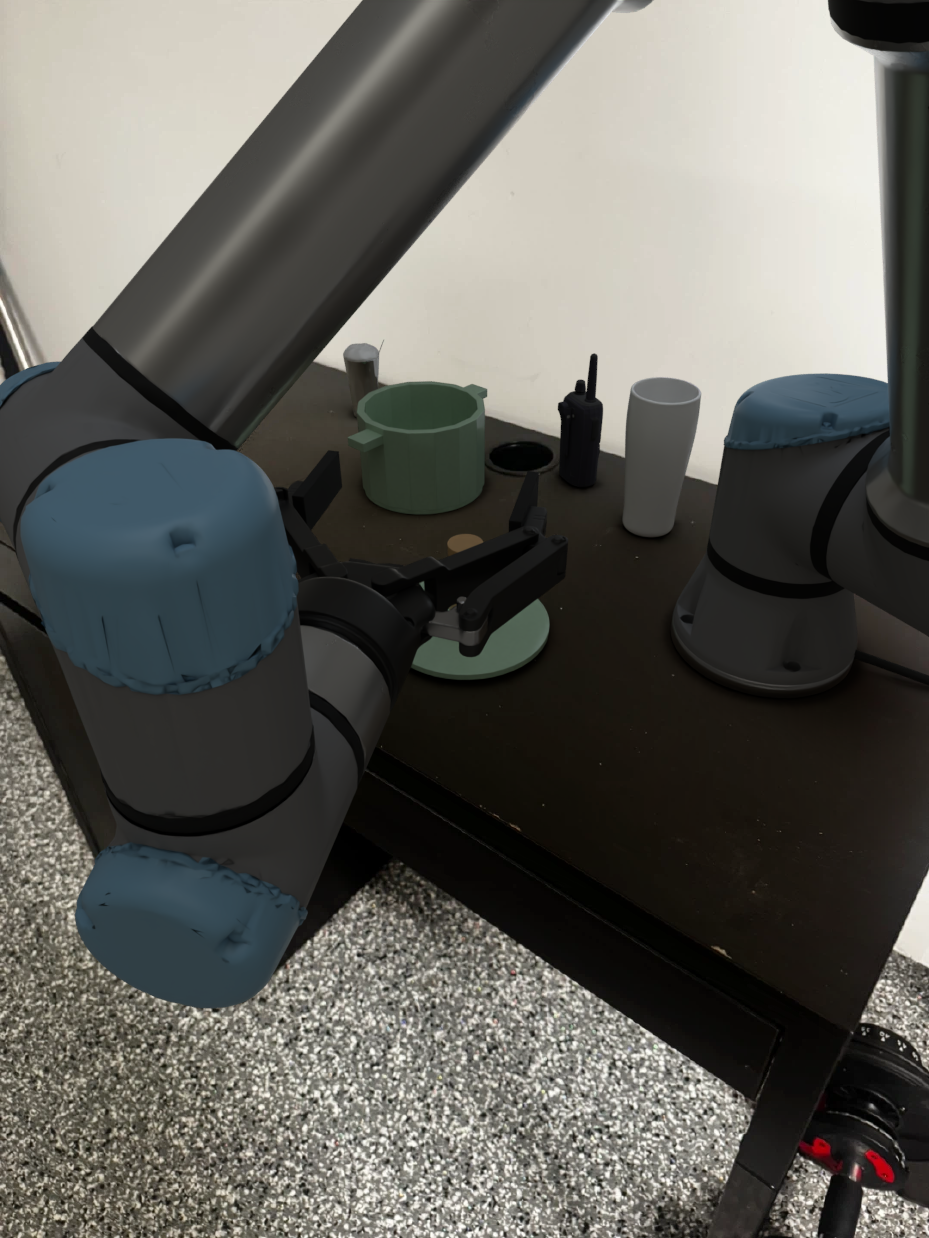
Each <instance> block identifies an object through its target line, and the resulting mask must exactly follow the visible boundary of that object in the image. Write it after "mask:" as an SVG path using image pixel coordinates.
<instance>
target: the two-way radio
mask: <svg viewBox="0 0 929 1238" xmlns="http://www.w3.org/2000/svg"><path fill="white" fill-rule="evenodd" d="M598 358H599V355H598V353H591V355H590V356H589V362H588V363H589V364H588V371H587V383H586V381H585V380H584V379H577V380H576V382H575V384H574V385H575V386H574V390H572V391H570V392H568V393H567V394H566V395H565V396H564V397H563V399H562V401H560V402H558V403H557V411H558V413H559V417H560V418H559V419H560V432H559V433H560V434H559V435H560V436H559V460H558V462H559V465H558V474H559V475H560V477H561V478H562V479H563V480H565V481H566V482H567V483H569V485H572V486H575V487H578V488H588V487H591V486H593V485H594V484H595V483H596V481H597V477H598V476H597V475H598V466H599V458H600V452H601V440H602V432H603V431H602V429H603V419H604V404H603V402H602V401H601V400H600V399H599V398H597V397H596V395H597V383H598V381H597V380H598V362H599V360H598Z"/></svg>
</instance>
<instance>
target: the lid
mask: <svg viewBox="0 0 929 1238" xmlns="http://www.w3.org/2000/svg"><path fill="white" fill-rule="evenodd" d="M483 542H484V541H483V539H482V537H480V536H478V535H475V534H473V533H472V534H471V533H459V534H456V535H452V536H451V537H450V538H449V539H447V543H446V551H447V552H446V554H447V556H446V557H448V556H450V555H453V554H455V553H458V552H460V551H463V550H465V549H468V548H470V547H473V546H475V545H478V544H480V543H483ZM420 585H421V586H422V588H423V589H424V581H423V582H420ZM456 605H457V604H454V605H452V606H451V607H450V608H449V609H448V610H450V609H452V608H453V607H454V606H456ZM550 627H551V625H550V617H549V614H548V611H547V609H546V607H545V606H544V604H543V603H542V602H541V600H540V598H538V599H537V600H535V601H534V602H533V603H531V604H530V605H529V606H527V607H526V608H525V609H524V610H522V611H521V612H520V613H518V614H517V615H516V616H514V617H513V618H512V619H510V620H509V621H508V622H506V623H505V624H504V625H503V626H501V627H500V628H499V629H497V630H496V631H495V632H493V633H492V634H491V635H490V637H489V639H488V641H487V643H486V645H485V646H484V648H483V650H482V652H481V653H480V654H479V655H478V656H476V657H465V656H463V655H461V654H460V652H459V642H456V641H452V640H447V639H443V638H438V637H434V636H433V637H432V638H431V639H430V640H429V641H427V642H426V643H424V644H423V645H421V646H420V647H419V648H418V650H417V652H416V655H415V658H414V661H413V663H412V666H411V668H410V669H413V670H414V671H417V672H420V673H423V674H425V675H429V676H432V677H435V678H441V679H445V680H457V681H473V680H475V681H476V680H484V679H490V678H495V677H499V676H503V675H505V674H506V675H507V674H509V673H511V672H514V671H516V670H518V669H520V668H522V667H524V666H525V665H527V664H529V663H530V662H531V661H533V660H534V659H535V658H536V657H537V656H538V655H539V654H540V653H541V652H542V650H543V649H544V647H545V646H546V644H547V642H548V640H549V636H550Z"/></svg>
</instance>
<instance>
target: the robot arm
mask: <svg viewBox="0 0 929 1238" xmlns="http://www.w3.org/2000/svg"><path fill="white" fill-rule="evenodd" d="M654 1H655V0H361V1H360V2H359V3H358V4H357V6H356V7H355V8H354V9H353V11H352V12H351V13H350V14H349V16H347V18H346V19H345V21H343V23H342V24H341V25H340V27H339V28H338V29H337V30H336V31H335V33H334V34H332V36H331V37H330V39H329V40H328V41H327V42H326V43H325V45H324V46H323V47H322V48H321V49H320V51H319V52H318V53H317V54H316V55H315V57H314V58H313V60H311V62H310V63H309V64H308V65H307V67H306V68H304V70H303V71H302V73H301V74H300V75H299V76H298V77H297V78H296V79H295V81H294V82H293V84H291V86H290V87H289V88H288V89H287V91H286V92H285V93H284V94H283V96H282V97H281V98H280V99H279V100H278V101H277V103H275V105H274V106H273V107H272V109H271V110H270V111H269V113H268V114H267V115H266V116H265V117H264V118H263V120H262V121H261V122H260V123H259V125H257V127H256V128H255V129H254V131H252V133H251V134H250V135H249V137H248V138H247V139H246V140H245V142H244V143H242V145H241V146H240V148H238V149H237V151H236V152H235V153H234V154H233V156H232V157H231V158H230V160H229V161H228V162H227V163H226V165H225V166H224V167H223V168H222V169H221V170H220V171H219V173H218V174H217V175H216V177H214V178H213V180H212V181H211V183H210V184H209V185H208V186H207V187H206V188H205V189H204V191H203V192H202V193H201V194H200V195H199V197H198V198H197V199H196V200H195V202H194V203H193V204H192V205H191V207H190V208H189V209H188V210H187V211H186V213H184V215H183V217H182V218H181V219H180V220H179V221H178V222H177V224H176V225H175V226H174V227H173V228H172V230H170V232H169V233H168V234H167V236H166V237H165V238H164V239H163V241H162V242H161V243H160V244H159V245H158V246H157V248H156V249H155V250H154V252H153V253H152V254H151V255H150V256H149V258H148V259H147V260H146V261H145V262H144V264H143V265H142V266H141V267H140V269H139V270H137V272H136V273H135V275H134V276H133V277H132V278H131V279H130V281H128V282H127V284H126V285H125V286H124V288H123V289H122V290H121V291H120V293H119V294H118V295H117V296H116V297H115V298H114V300H113V301H112V302H111V303H110V305H109V306H108V307H107V308H106V309H105V311H103V313H102V314H101V315H100V317H99V318H98V319H97V320H96V321H95V322H94V324H93V325H92V326H91V327H89V329H87V331H86V332H85V333H84V335H82V337H80V339H79V340H78V341H77V342H76V343H75V344H74V346H73V347H72V348H71V349H70V350H69V352H68V353H66V355H65V356H64V357H63V358H62V359H61V361H48V362H44V363H41V364H36V365H33V366H30V367H26V368H24V369H23V370H21V371H18V372H17V373H15V374H12V375H11V376H9V377H8V378H6V379H5V380H3V381H2V383H0V523H1V524H2V526H3V528H4V530H5V532H6V534H7V536H8V538H9V540H10V543H11V545H12V547H13V548H14V553H15V555H16V559H17V562H18V565H19V567H20V570H21V573H22V574H23V575H22V576H23V577H24V579H25V582H26V585H27V588H28V589H29V592H30V594H31V597H32V599H33V602H34V605H35V608H36V609H37V612H38V615H39V618H40V619H41V622H40V624H41V625H42V626H43V627H44V629H45V632H46V634H47V636H48V639H49V641H50V644H51V646H52V648H53V650H54V653H55V655H56V658H57V660H58V663H59V666H60V668H61V671H62V674H63V676H64V678H65V681H66V683H67V685H68V688H69V691H70V694H71V697H72V700H73V702H74V705H75V707H76V710H77V712H78V715H79V718H80V720H81V723H82V725H83V728H84V731H85V733H86V735H87V738H88V740H89V743H90V745H91V748H92V750H93V753H94V756H95V758H96V761H97V763H98V766H99V771H100V777H101V780H102V784H103V791H104V792H105V796H106V798H107V802H108V805H109V808H110V810H111V814H112V816H113V818H114V821H115V824H116V828H115V835H114V836H113V838H112V840H111V841H110V842H109V844H108V845H107V846H106V847H105V848H104V849H101V850H100V852H98V854H97V855H96V857H95V859H94V865H93V867H92V869H91V871H90V873H89V875H88V877H87V878H86V880H85V882H84V884H83V886H82V888H81V890H80V892H79V894H78V896H77V899H76V909H75V911H74V920H75V926H76V930H77V933H78V936H79V937H80V939H81V941H82V943H83V944H84V946H85V948H86V949H87V950H88V952H89V953H90V955H92V957H94V959H95V960H96V961H98V963H99V964H100V965H101V966H103V968H104V969H106V971H108V972H109V973H110V974H112V975H114V976H115V977H117V978H118V979H119V980H121V981H122V982H124V983H125V984H126V985H129V986H130V987H132V988H134V989H136V990H138V991H140V992H143V993H145V994H147V995H148V996H151V997H154V998H156V999H159V1000H162V1001H166V1002H169V1003H173V1004H177V1005H182V1006H186V1007H191V1008H195V1009H224V1008H229V1007H234V1006H237V1005H240V1004H243V1003H245V1002H247V1001H249V1000H250V999H253V997H255V996H257V995H258V994H259V993H260V992H261V991H263V990H264V988H265V987H266V986H267V985H268V983H269V982H270V980H271V979H272V977H273V975H274V973H275V971H276V969H277V968H278V965H279V964H280V962H281V960H282V958H283V956H284V954H285V952H286V950H287V948H288V947H289V945H290V943H291V940H292V939H293V937H294V935H295V933H296V931H297V930H298V928H299V927H300V926H302V925H303V923H304V922H305V921H306V919H307V916H308V913H309V912H308V911H309V910H308V909H307V907H308V905H309V903H310V900H311V898H312V895H313V893H314V891H315V889H316V886H317V883H318V882H319V880H320V877H321V874H322V872H323V870H324V867H325V864H326V862H327V861H328V858H329V856H330V853H331V850H332V848H333V846H334V843H335V842H336V839H337V837H338V834H339V832H340V829H341V827H342V826H343V823H344V820H345V818H346V816H347V813H348V811H349V808H350V807H351V804H352V802H353V799H354V797H355V795H356V792H357V790H358V787H359V785H360V783H361V781H362V779H363V777H364V774H365V772H366V769H367V767H368V765H369V762H370V760H371V759H372V756H373V754H374V751H375V748H376V746H377V744H378V742H379V740H380V738H381V735H382V733H383V731H384V728H385V726H386V724H387V721H388V718H389V717H390V714H391V711H392V710H393V708H394V707H395V705H396V703H397V700H398V698H399V696H400V693H401V691H402V688H403V687H404V684H405V682H406V679H407V678H408V675H409V673H410V670H411V669H412V668H411V666H412V663H413V661H414V658H415V655H416V652H417V650H418V648H419V647H420V646H421V645H423V644H424V643H426V642H427V641H429V640H430V639H431V638H432V637H433V636H434V637H438V638H443V639H447V640H452V641H456V642H459V652H460V654H461V655H463V656H465V657H476V656H478V655H479V654H480V653H481V652H482V650H483V648H484V646H485V645H486V643H487V641H488V639H489V637H490V635H491V634H492V633H493V632H495V631H496V630H497V629H499V628H500V627H501V626H503V625H504V624H505V623H506V622H508V621H509V620H510V619H512V618H513V617H514V616H516V615H517V614H518V613H520V612H521V611H522V610H524V609H525V608H526V607H527V606H529V605H530V604H531V603H533V602H534V601H535V600H537V599H540V598H541V597H542V596H544V595H545V594H546V593H547V592H549V591H550V590H551V589H552V588H554V587H555V586H557V585H558V584H559V583H560V582H562V581H563V580H564V579H565V578H566V576H567V575H566V574H567V564H568V552H569V551H568V549H569V538H568V537H566V536H565V535H561V534H552V535H549V536H548V537H546V533H547V522H548V510H547V507H545V506H544V507H543V506H538V504H539V503H538V500H539V484H540V483H539V482H540V472H539V471H533V470H527V471H526V474H525V477H524V480H523V482H522V485H521V487H520V489H519V492H518V495H517V498H516V501H515V503H514V506H513V507H512V512H511V513H510V517H509V518H508V519H509V520H508V532H505V533H503V534H500V535H498V536H496V537H493V538H490V539H488V540H486V541H485V540H484V541H483V543H480V544H478V545H475V546H473V547H470V548H468V549H465V550H463V551H460V552H458V553H455V554H453V555H450V556H448V557H447V556H445V557H443V558H441V559H436V558H435V557H433V556H426V557H423V558H421V559H419V560H416V561H413V562H411V563H408V564H406V565H404V564H400V563H391V562H385V563H379V562H378V563H375V562H372V561H369V560H366V559H362V558H361V559H360V558H352V557H350V558H349V559H348V561H346V560H345V561H339V560H338V559H337V557H336V556H335V554H333V552H332V551H331V549H330V548H329V547H328V545H327V544H326V543H321V542H320V541H319V539H318V538H317V536H316V535H315V534H314V532H313V529H314V527H315V526H316V525H317V523H318V522H319V520H320V519H321V518H322V516H323V515H324V513H326V510H327V509H328V508H329V507H330V505H331V504H332V502H333V501H334V499H335V498H336V497H337V496H338V494H339V493H340V491H341V490H342V488H343V479H342V469H341V459H340V458H341V457H340V451H339V450H329V449H328V450H327V452H325V454H324V455H323V456H322V457H321V458H320V460H319V461H318V463H317V464H316V465H315V466H314V467H313V468H312V470H311V471H310V472H309V474H308V475H307V476H306V477H305V479H304V480H296V481H294V482H292V483H291V484H290V485H289V487H288V488H287V487H284V486H274V485H273V483H272V481H271V480H270V478H269V476H268V475H267V474H266V472H265V471H264V469H262V467H261V466H259V465H258V464H257V463H256V462H255V461H253V459H251V458H250V457H248V456H246V455H245V454H243V453H242V452H240V451H238V450H239V449H240V448H241V447H242V445H243V444H244V443H245V442H246V441H247V440H248V438H249V437H250V436H251V435H252V434H253V432H255V430H256V429H257V428H258V427H259V425H261V423H262V422H263V421H264V420H265V419H266V417H267V416H268V415H269V414H270V413H271V412H272V411H273V409H274V408H275V407H276V406H277V404H278V403H279V402H280V401H281V400H282V398H284V397H285V395H286V394H287V393H288V391H289V390H291V388H292V387H293V386H294V385H295V383H296V382H297V381H298V380H299V379H300V377H302V375H303V374H304V373H305V372H306V371H307V370H308V369H309V367H310V366H311V364H312V363H314V361H315V360H316V359H317V358H318V357H319V355H321V353H322V352H323V351H324V349H326V347H327V346H328V345H329V344H330V343H331V341H332V340H333V339H334V338H335V337H336V335H338V333H339V332H341V331H340V330H342V328H343V327H344V326H345V325H346V324H347V322H348V321H349V320H350V319H351V318H352V317H353V315H354V314H355V313H356V312H357V310H359V308H360V307H361V306H362V305H363V304H364V302H365V301H366V300H367V299H368V298H369V297H370V296H371V294H372V293H373V292H374V291H375V290H376V289H377V287H378V286H379V285H380V284H381V282H382V281H384V279H385V278H386V277H387V276H388V275H389V273H390V272H391V271H392V270H393V269H394V268H395V266H396V265H397V264H398V263H399V261H400V260H401V259H402V258H403V257H404V256H405V254H407V253H408V251H409V250H410V249H411V248H412V247H413V246H414V244H415V243H416V242H417V240H418V239H419V238H421V236H422V234H424V232H426V230H427V229H428V227H430V225H431V224H432V223H433V222H434V221H435V219H436V218H437V217H438V216H439V215H440V214H441V212H443V210H444V209H445V208H446V206H447V205H448V204H449V203H450V202H451V201H452V199H454V197H455V196H456V194H458V192H459V191H460V190H461V189H462V188H463V187H464V185H465V184H466V183H467V182H468V181H469V180H470V178H471V177H472V176H474V174H475V172H476V171H477V170H478V169H479V168H480V166H482V164H483V163H484V162H485V161H486V159H487V158H488V157H490V155H491V154H492V153H493V152H494V150H495V149H496V148H497V147H498V146H499V144H500V143H501V142H502V141H503V140H504V139H505V137H506V136H507V135H508V134H509V133H510V131H512V130H513V128H514V127H515V126H516V125H517V123H518V122H519V121H520V120H521V118H522V117H523V116H524V115H525V114H526V113H527V112H528V110H529V109H530V108H531V107H532V106H533V104H534V103H536V101H537V100H538V99H539V97H540V96H541V95H542V94H543V93H544V92H545V90H546V89H548V87H549V86H550V85H551V83H552V82H553V81H554V80H555V79H556V77H558V75H559V74H560V73H561V72H562V71H563V70H564V68H566V66H567V65H568V64H569V62H570V61H571V60H572V59H573V58H574V57H575V55H576V54H577V53H578V52H579V51H580V49H581V48H582V47H583V46H584V45H585V44H586V42H588V40H589V39H590V38H591V37H592V35H593V34H594V33H595V32H596V31H597V30H598V29H599V27H600V26H601V25H602V24H603V22H604V21H605V20H606V19H607V18H608V17H609V15H611V13H616V14H617V13H619V14H630V13H636V12H638V11H641V10H643V9H645V8H647V7H648V6H649V5H650V4H652V3H653V2H654ZM827 8H828V13H829V19H830V20H829V21H830V24H831V26H832V29H833V30H834V32H835V33H836V34H837V35H839V37H840V38H841V39H843V40H845V42H846V41H847V42H848V43H850V44H852V45H854V46H855V47H857V48H859V49H860V50H862V51H864V52H866V53H868V54H870V55H872V56H873V73H874V78H873V79H874V94H875V95H874V96H875V97H874V98H875V119H876V122H875V123H876V143H877V145H876V146H877V168H878V188H879V191H878V193H879V213H880V214H879V215H880V234H881V235H880V236H881V237H880V238H881V260H882V262H881V263H882V281H883V282H882V283H883V300H884V301H883V305H884V306H883V307H884V329H885V331H884V332H885V348H886V349H885V351H886V352H885V353H886V372H887V373H886V375H887V382H886V381H883V380H879V379H876V378H871V377H866V376H861V375H853V374H843V373H800V374H793V375H792V374H791V375H784V376H779V377H774V378H771V379H766V380H764V381H761V382H758V383H757V384H754V385H752V386H751V387H749V388H748V389H746V391H744V392H743V393H742V394H741V395H740V396H739V398H738V399H737V401H736V402H735V405H734V407H733V411H732V415H731V419H730V423H729V427H728V431H727V435H725V437H724V438H723V449H722V450H723V451H722V456H721V462H720V468H719V474H718V480H717V486H716V487H717V488H716V490H715V491H716V492H715V498H714V504H713V509H712V517H711V522H710V528H709V535H708V540H707V544H706V545H707V546H706V551H705V554H704V555H703V557H702V559H701V560H700V562H699V564H698V565H697V567H696V568H695V570H694V572H693V573H692V575H691V577H690V578H689V580H688V581H687V583H686V585H685V586H684V588H683V590H682V591H681V593H680V595H678V598H677V600H676V603H675V606H674V608H673V612H672V617H671V624H670V637H671V640H672V644H673V646H674V648H675V649H676V651H677V653H678V654H679V656H680V657H681V658H682V659H683V661H685V662H686V663H687V664H688V665H689V666H690V667H691V668H692V669H694V670H695V671H696V672H698V673H699V674H700V675H702V676H704V677H705V678H707V679H708V680H710V681H712V682H714V683H717V684H719V685H721V686H723V687H725V688H728V689H731V690H734V691H737V692H740V693H743V694H747V695H752V696H756V697H757V696H758V697H764V698H772V699H795V698H796V699H797V698H803V697H804V698H805V697H810V696H814V695H818V694H821V693H824V692H826V691H828V690H831V689H833V688H834V687H835V686H837V685H838V684H840V683H842V681H843V680H844V679H846V677H847V676H848V674H849V673H850V671H851V669H852V665H853V663H854V660H856V661H860V662H862V663H865V664H868V665H870V666H873V667H876V668H879V669H882V670H885V671H888V672H890V673H893V674H896V675H899V676H901V677H904V678H907V679H910V680H911V681H912V680H913V681H915V682H918V683H920V684H924V685H926V686H929V674H926V673H923V672H920V671H917V670H915V669H912V668H910V667H906V666H904V665H901V664H898V663H895V662H892V661H889V660H887V659H884V658H881V657H878V656H876V655H874V654H869V653H867V652H864V651H861V650H858V649H857V647H858V641H859V637H858V636H859V634H858V623H857V612H856V602H855V601H856V600H855V595H856V596H858V597H859V598H861V599H863V600H865V601H866V602H868V603H870V605H873V606H874V607H876V608H878V609H880V610H882V611H883V612H885V613H887V614H888V615H890V616H892V617H894V618H896V619H897V620H899V621H900V622H902V623H904V624H905V625H908V626H909V627H911V628H913V629H915V630H916V631H918V632H920V633H922V634H923V635H925V636H927V637H929V0H827ZM297 574H298V576H299V577H300V578H297V577H296V575H297ZM423 581H424V589H423V588H422V586H421V585H420V583H421V582H423ZM454 604H457V605H456V606H454V607H453V608H452V609H450V610H448V609H449V608H450V607H451V606H452V605H454Z"/></svg>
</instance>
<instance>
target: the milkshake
mask: <svg viewBox="0 0 929 1238" xmlns="http://www.w3.org/2000/svg"><path fill="white" fill-rule="evenodd" d="M384 342H385V339H383V340H382V342H381V345H380V348H379V349H378V348H377V347H376V346H375V345H373V344H369V343H367V342H362V343H361V342H360V343H351V344H349V345H348V346H347V347H346V348H345V349H344V350H343V353H342V357H343V362H344V369H345V372H346V377H347V382H348V387H349V394H350V401H351V406H352V412H353V416H354V417H356V418H357V407H358V402H359V401H360V400H361V399H362V398H363V397H365V396H366V395H367V394H368V393H370V392H372V391H375V390H377V389H379V374H380V373H379V371H380V353H381V350H382V347H383V344H384Z"/></svg>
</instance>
